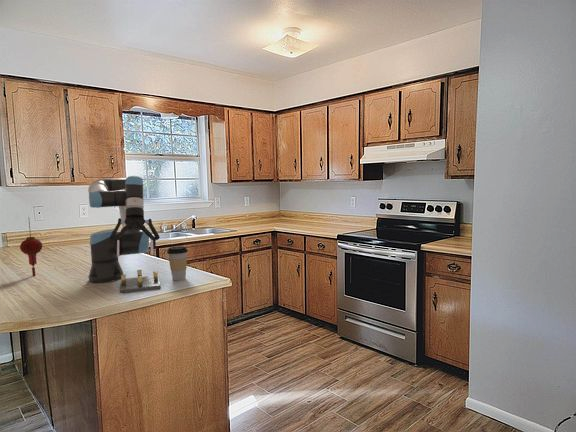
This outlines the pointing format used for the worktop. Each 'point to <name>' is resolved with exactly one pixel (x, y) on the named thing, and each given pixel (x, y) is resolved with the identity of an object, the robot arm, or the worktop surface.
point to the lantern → (31, 249)
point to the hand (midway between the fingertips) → (135, 255)
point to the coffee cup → (178, 262)
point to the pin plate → (145, 283)
